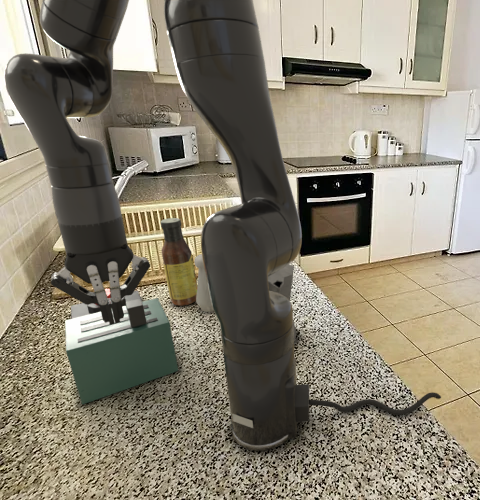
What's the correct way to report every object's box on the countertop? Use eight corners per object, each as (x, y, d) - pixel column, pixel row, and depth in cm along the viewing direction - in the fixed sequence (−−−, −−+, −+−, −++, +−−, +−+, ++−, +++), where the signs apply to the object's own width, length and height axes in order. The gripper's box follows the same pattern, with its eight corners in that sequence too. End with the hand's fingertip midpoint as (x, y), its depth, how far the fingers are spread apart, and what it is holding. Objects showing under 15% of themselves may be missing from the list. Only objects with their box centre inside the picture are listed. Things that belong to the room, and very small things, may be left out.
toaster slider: (144, 316, 62) (140, 298, 61) (147, 323, 60) (143, 304, 59) (129, 320, 61) (125, 301, 60) (131, 328, 59) (127, 308, 58)
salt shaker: (215, 315, 82) (208, 261, 78) (192, 312, 84) (184, 259, 79) (228, 303, 88) (223, 252, 83) (206, 300, 89) (200, 249, 84)
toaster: (166, 342, 73) (157, 297, 69) (178, 370, 65) (169, 321, 62) (79, 369, 65) (64, 319, 62) (82, 404, 58) (65, 350, 54)
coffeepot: (307, 350, 72) (305, 264, 65) (258, 363, 68) (250, 273, 61) (284, 312, 85) (280, 237, 78) (241, 321, 81) (234, 243, 74)
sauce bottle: (204, 298, 90) (194, 219, 82) (181, 309, 85) (168, 226, 77) (187, 291, 93) (175, 214, 86) (164, 301, 88) (149, 221, 81)
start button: (116, 295, 83) (114, 286, 82) (118, 302, 80) (116, 294, 79) (94, 299, 81) (92, 291, 80) (96, 307, 78) (93, 299, 77)
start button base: (139, 298, 89) (136, 283, 88) (146, 317, 81) (143, 300, 80) (73, 314, 82) (68, 298, 80) (74, 336, 74) (69, 318, 73)
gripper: (28, 229, 46) (62, 347, 52) (147, 215, 53) (165, 320, 59) (31, 215, 52) (62, 323, 58) (138, 204, 59) (156, 300, 65)
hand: (114, 321), depth 59 cm, fingers closed
